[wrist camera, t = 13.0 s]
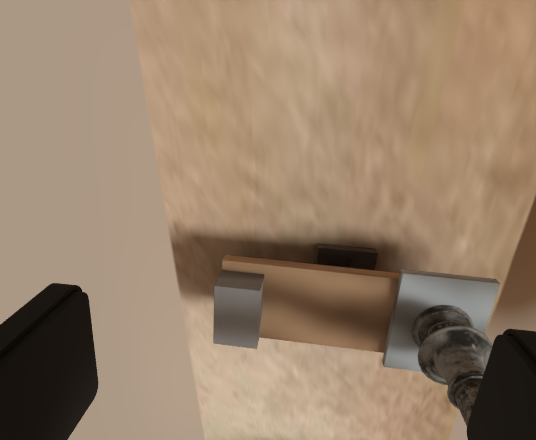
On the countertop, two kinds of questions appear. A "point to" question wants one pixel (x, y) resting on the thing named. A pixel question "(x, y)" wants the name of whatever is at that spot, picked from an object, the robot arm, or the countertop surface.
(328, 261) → the beam stand
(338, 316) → the beam
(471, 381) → the chess piece
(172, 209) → the countertop surface
